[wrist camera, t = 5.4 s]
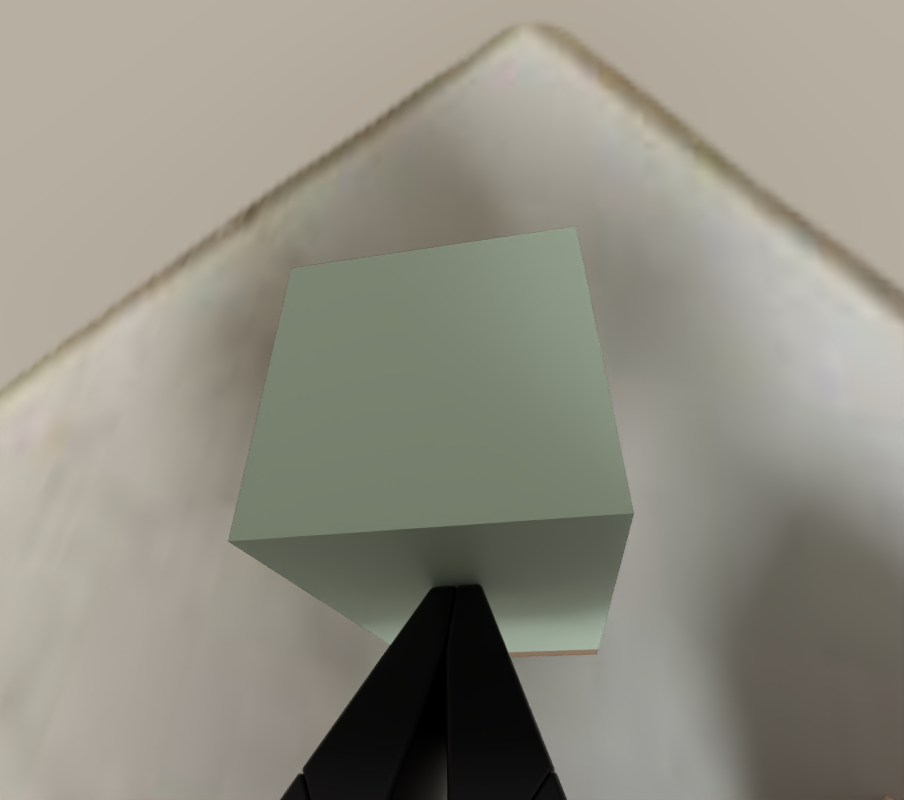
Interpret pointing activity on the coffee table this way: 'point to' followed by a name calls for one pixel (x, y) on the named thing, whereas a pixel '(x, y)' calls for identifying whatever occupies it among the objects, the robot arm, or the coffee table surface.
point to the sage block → (443, 441)
